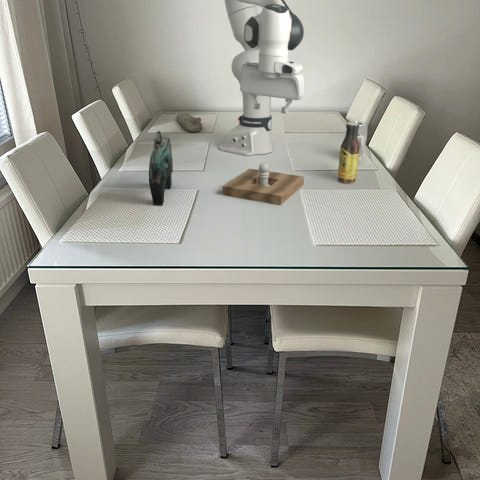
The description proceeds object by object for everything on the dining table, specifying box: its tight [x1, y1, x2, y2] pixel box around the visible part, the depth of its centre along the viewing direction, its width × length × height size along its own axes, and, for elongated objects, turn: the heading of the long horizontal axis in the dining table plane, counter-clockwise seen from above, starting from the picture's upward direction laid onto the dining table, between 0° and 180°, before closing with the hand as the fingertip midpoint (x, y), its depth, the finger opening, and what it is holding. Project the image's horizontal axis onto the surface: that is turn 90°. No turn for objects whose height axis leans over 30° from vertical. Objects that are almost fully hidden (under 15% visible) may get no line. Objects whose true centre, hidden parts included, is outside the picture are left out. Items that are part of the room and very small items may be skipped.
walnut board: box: [221, 168, 305, 206], centre depth 161 cm, size 20×20×3 cm
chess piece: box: [258, 162, 270, 186], centre depth 160 cm, size 5×5×9 cm
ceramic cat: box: [148, 130, 174, 206], centre depth 153 cm, size 20×6×20 cm, turn 178°
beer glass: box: [353, 120, 369, 166], centre depth 184 cm, size 7×7×15 cm
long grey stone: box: [176, 112, 203, 133], centre depth 245 cm, size 35×5×10 cm
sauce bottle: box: [337, 121, 360, 184], centre depth 164 cm, size 7×6×20 cm
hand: (270, 111), depth 155 cm, fingers open, 8 cm apart
